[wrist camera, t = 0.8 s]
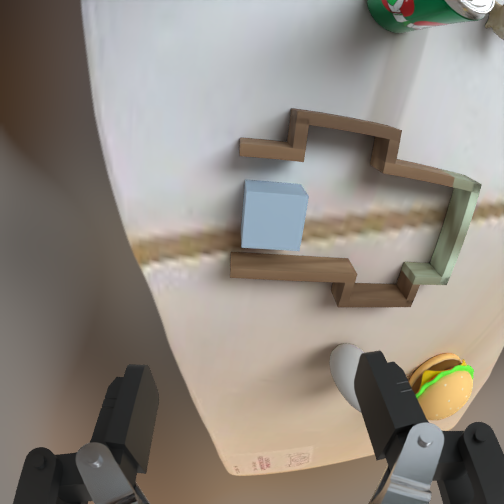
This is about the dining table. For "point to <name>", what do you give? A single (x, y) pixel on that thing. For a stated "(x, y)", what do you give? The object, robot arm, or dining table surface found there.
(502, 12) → the bone
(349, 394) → the donut
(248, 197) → the block
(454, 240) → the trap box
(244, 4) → the dining table surface
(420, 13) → the soda can
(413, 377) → the toy cheeseburger
